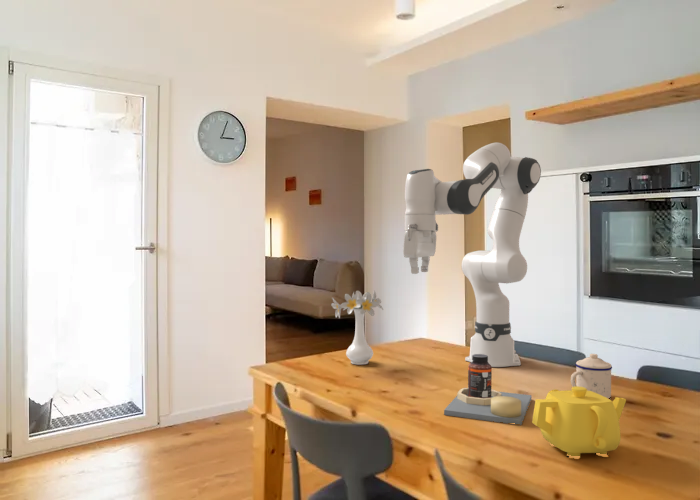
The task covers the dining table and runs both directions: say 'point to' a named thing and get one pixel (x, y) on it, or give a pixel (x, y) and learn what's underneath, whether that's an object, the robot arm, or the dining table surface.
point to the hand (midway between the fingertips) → (419, 272)
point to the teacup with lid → (593, 375)
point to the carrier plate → (490, 407)
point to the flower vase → (358, 324)
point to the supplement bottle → (479, 377)
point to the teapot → (579, 420)
